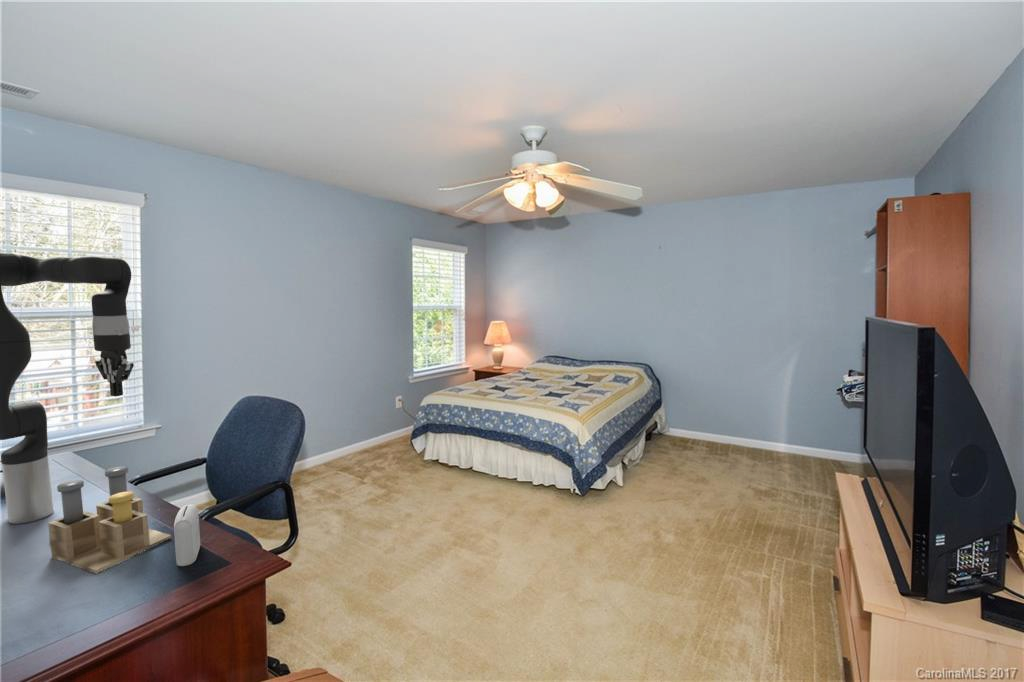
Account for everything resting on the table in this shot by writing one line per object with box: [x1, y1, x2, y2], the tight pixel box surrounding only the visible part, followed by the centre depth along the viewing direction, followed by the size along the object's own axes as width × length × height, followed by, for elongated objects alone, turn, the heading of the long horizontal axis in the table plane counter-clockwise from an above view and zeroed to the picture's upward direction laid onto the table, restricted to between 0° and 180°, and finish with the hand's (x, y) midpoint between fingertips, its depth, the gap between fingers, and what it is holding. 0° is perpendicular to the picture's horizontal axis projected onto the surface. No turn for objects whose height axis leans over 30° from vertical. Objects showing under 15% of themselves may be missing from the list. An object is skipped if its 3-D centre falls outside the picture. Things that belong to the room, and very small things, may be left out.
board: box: [47, 496, 172, 575], centre depth 122 cm, size 18×17×9 cm
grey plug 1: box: [56, 479, 85, 525], centre depth 118 cm, size 5×5×10 cm
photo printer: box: [173, 503, 201, 567], centre depth 118 cm, size 10×4×12 cm, turn 26°
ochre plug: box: [108, 491, 135, 524], centre depth 119 cm, size 5×5×10 cm
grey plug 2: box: [104, 465, 129, 507], centre depth 127 cm, size 5×5×10 cm
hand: (117, 395), depth 130 cm, fingers closed
